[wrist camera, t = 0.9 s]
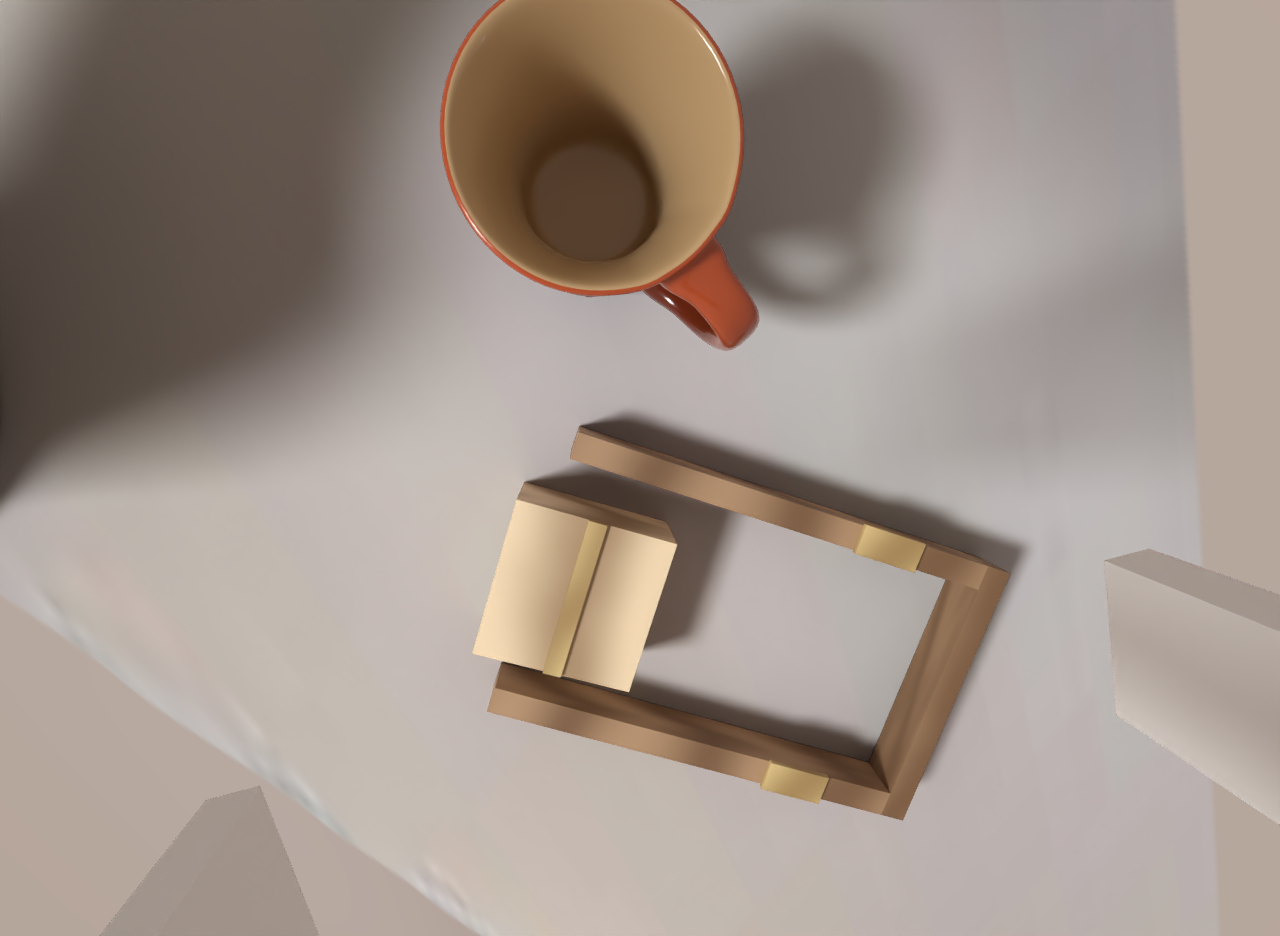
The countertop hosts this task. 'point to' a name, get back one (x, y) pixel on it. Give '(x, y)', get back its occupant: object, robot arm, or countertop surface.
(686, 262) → the mug
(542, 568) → the block
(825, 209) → the countertop surface
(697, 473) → the beam slot
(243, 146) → the countertop surface
